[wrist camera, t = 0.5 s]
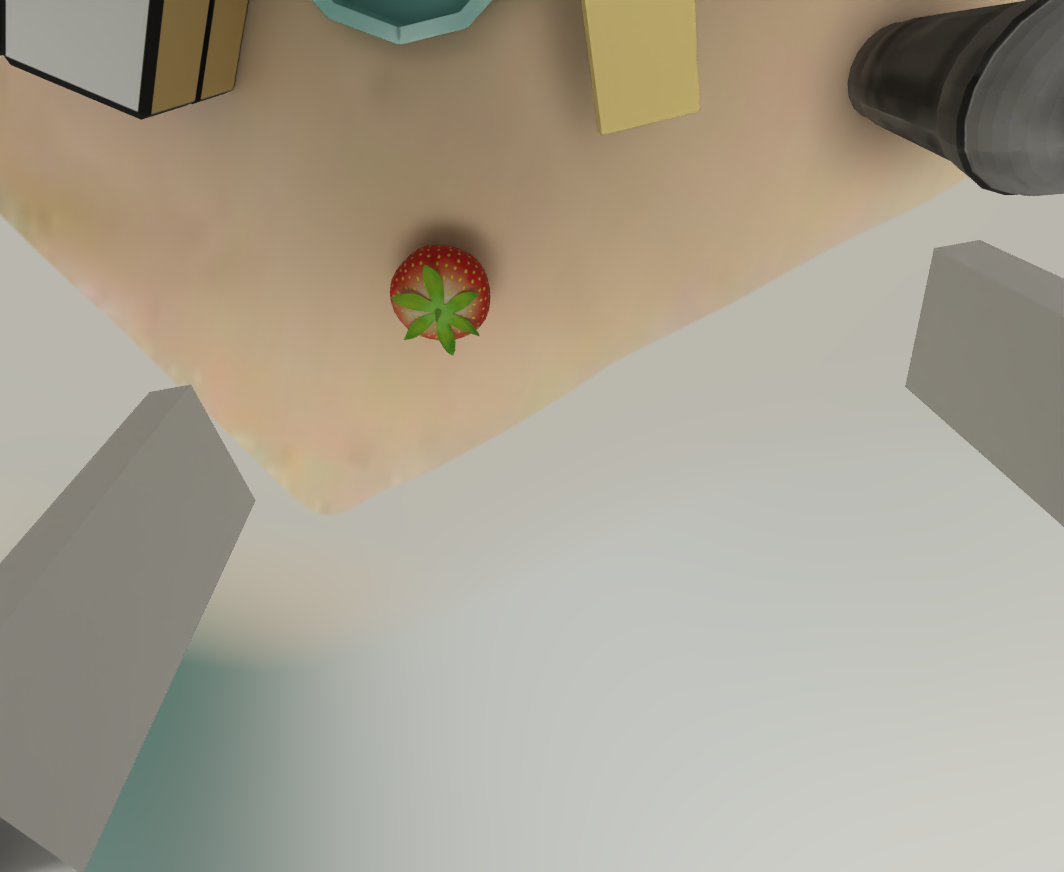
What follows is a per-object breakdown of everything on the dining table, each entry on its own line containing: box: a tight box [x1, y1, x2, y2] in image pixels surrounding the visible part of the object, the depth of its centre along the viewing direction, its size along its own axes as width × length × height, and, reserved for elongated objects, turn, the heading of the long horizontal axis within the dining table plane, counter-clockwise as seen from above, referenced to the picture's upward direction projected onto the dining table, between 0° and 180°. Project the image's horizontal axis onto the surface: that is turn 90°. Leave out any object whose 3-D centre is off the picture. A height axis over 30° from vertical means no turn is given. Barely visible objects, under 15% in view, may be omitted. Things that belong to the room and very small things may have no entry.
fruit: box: [390, 245, 490, 355], centre depth 34 cm, size 5×5×8 cm
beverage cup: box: [848, 0, 1064, 196], centre depth 25 cm, size 7×7×20 cm
